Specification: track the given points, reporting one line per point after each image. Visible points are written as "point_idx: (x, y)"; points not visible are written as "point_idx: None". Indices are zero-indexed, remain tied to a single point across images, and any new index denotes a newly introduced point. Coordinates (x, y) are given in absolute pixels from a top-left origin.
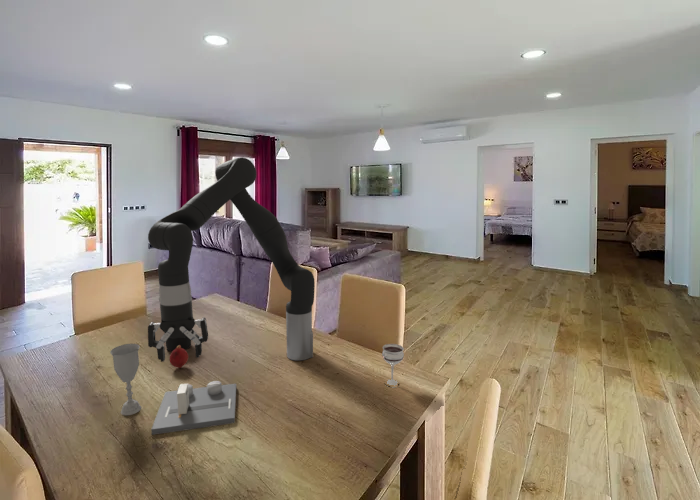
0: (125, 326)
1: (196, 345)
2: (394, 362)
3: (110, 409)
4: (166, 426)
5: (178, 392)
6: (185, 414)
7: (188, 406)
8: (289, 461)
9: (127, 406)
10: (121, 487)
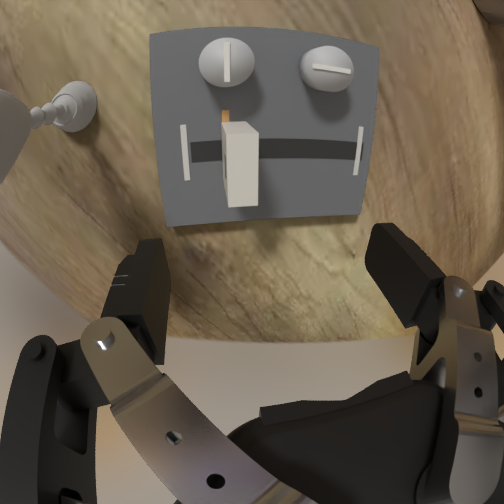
0: None
1: (411, 323)
2: None
3: (28, 106)
4: (201, 220)
5: (232, 198)
6: None
7: None
8: None
9: (63, 126)
10: (175, 329)
